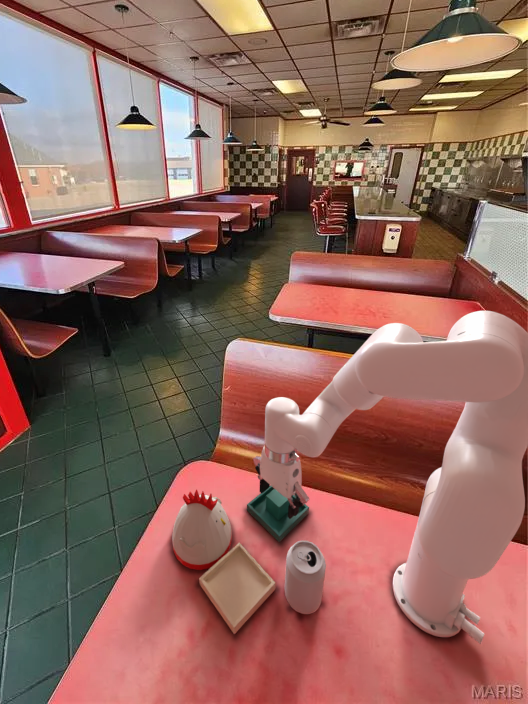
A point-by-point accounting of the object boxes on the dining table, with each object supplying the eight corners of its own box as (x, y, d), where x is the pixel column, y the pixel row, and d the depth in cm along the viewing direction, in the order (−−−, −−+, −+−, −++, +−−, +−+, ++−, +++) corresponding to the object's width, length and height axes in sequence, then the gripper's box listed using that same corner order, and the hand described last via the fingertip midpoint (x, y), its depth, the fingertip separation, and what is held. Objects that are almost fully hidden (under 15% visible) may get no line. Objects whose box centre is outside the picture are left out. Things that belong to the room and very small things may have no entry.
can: (322, 621, 63) (327, 581, 58) (282, 612, 64) (285, 572, 60) (321, 578, 70) (326, 540, 65) (285, 571, 71) (288, 533, 67)
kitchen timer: (220, 577, 70) (218, 528, 64) (162, 560, 73) (155, 512, 68) (238, 518, 82) (237, 473, 77) (187, 506, 86) (183, 462, 80)
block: (290, 509, 84) (291, 496, 82) (278, 520, 81) (279, 507, 80) (277, 498, 87) (278, 485, 86) (265, 508, 84) (266, 495, 83)
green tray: (308, 513, 84) (309, 507, 83) (279, 542, 77) (279, 536, 76) (276, 486, 92) (276, 480, 91) (246, 510, 85) (246, 504, 84)
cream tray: (275, 589, 68) (275, 582, 67) (234, 634, 61) (234, 627, 60) (239, 548, 76) (239, 542, 75) (199, 584, 69) (198, 578, 68)
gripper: (321, 460, 73) (315, 516, 79) (265, 422, 85) (264, 473, 91) (299, 479, 68) (295, 536, 75) (243, 436, 80) (244, 488, 87)
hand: (278, 501), depth 83 cm, fingers open, 9 cm apart
